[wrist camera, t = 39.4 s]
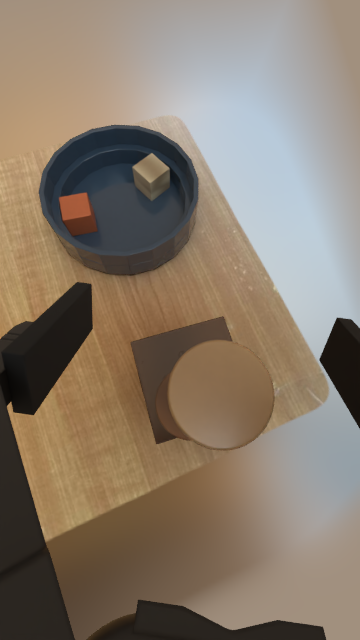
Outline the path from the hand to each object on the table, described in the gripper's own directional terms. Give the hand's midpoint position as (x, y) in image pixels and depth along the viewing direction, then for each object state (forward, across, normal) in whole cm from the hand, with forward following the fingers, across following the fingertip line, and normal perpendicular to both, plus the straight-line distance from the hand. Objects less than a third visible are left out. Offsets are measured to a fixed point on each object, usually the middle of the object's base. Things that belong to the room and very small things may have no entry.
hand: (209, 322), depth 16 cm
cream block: (+31, -8, +4) cm, 33 cm away
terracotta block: (+26, -17, -1) cm, 31 cm away
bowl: (+29, -11, 0) cm, 31 cm away
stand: (+13, 0, -16) cm, 20 cm away
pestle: (+3, 0, -9) cm, 9 cm away
